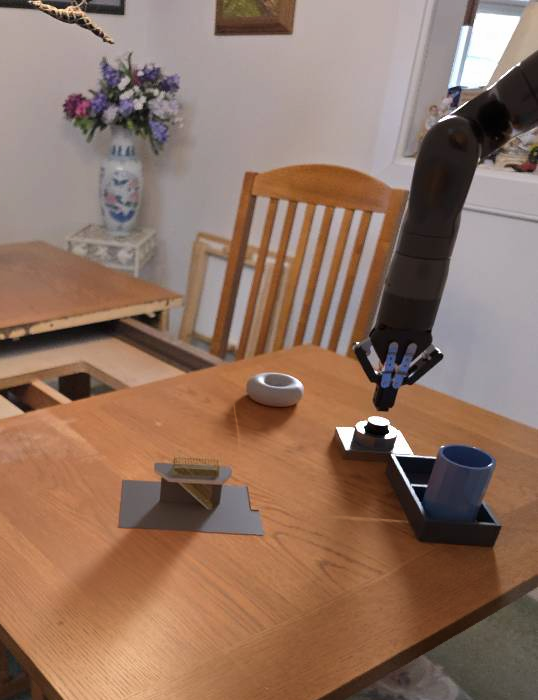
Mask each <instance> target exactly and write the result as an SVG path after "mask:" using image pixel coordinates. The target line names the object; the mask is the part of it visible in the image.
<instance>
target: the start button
mask: <svg viewBox="0 0 538 700" xmlns="http://www.w3.org/2000/svg"><path fill="white" fill-rule="evenodd" d="M366 421H367V424H366V428H365V431H367V432H368V433H371V434H375V435H386V434H387V431H388V428H389V425H390V423H391V422H390V421H389V420H388V419H387V418H384V417H380V416H369V417H368V418H367V420H366Z"/></svg>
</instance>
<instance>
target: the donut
mask: <svg viewBox="0 0 538 700" xmlns="http://www.w3.org/2000/svg"><path fill="white" fill-rule="evenodd" d="M245 387H246V389H245V390H246V394H247V396H248V397H249V398H250V399H251V400H253V401H254V402H255V403H258V404H260V405H264V406H268V407H274V408H275V407H276V408H283V407H284V408H285V407H292V406H294V405H296V404H298V403H300V401H301V400H302V399H303V398H304V395H305V389H304V384H302V382H301V381H299V379H297V378H295V377H294V376H291V375H289V374H285V373H281V372H262V373H261V372H260V373H257V374H255V375H252V376H251V377H250V378H249V379H248V381H246V386H245Z"/></svg>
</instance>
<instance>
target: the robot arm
mask: <svg viewBox="0 0 538 700" xmlns="http://www.w3.org/2000/svg"><path fill="white" fill-rule="evenodd" d="M536 128H538V49H536V50H535V51H534V52H532V53H531V54H530V55H528V56H527V57H525V58H524V59H523V60H522V61H520V62H519V63H518V64H515V66H513V67H512V68H511V69H509V70H508V71H507V72H506V73H505V74H504V75H502V76H501V77H500V78H499V79H498V80H497V81H496V82H495V83H494V84H493V85H491V86H490V87H488V88H487V89H486V90H484V91H482V92H481V93H479V94H477V95H476V96H475V97H473V98H471V99H470V100H468V101H467V102H465V103H464V104H463V105H461V106H459V107H458V108H456V109H455V110H454V111H452V112H451V113H449V114H448V115H446V116H445V117H443V118H442V119H440V120H439V121H438V122H436V123H434V124H433V125H431V127H429V129H428V130H427V132H425V134H424V135H423V137H422V139H421V140H420V143H419V146H418V150H417V152H416V153H417V154H416V157H415V161H414V166H413V172H412V173H413V174H412V178H411V183H410V189H409V195H408V201H407V207H406V210H405V213H404V216H403V218H402V221H401V225H400V229H399V233H398V238H397V241H396V245H395V250H394V253H393V255H392V259H391V262H390V264H389V266H388V270H387V275H386V276H385V279H384V283H383V284H384V287H383V291H382V294H381V299H380V303H379V307H378V311H377V315H376V316H377V317H376V320H375V323H374V325H373V328H372V329H371V330H370V331H369V333H368V337H367V338H365V339H363V340H361V341H360V342H359V341H354V342H352V343H351V347H350V348H351V350H352V352H353V353H354V355H355V357H356V359H357V361H358V362H359V364H360V366H361V368H362V370H363V372H364V374H365V376H366V377H367V379H368V381H369V382H370V383H372V384H373V383H374V384H376V385H375V389H374V392H373V396H372V404H373V407H374V408H375V409H376V411H377V412H385V413H388V412H389V411H390V409H392V408H393V407H394V406H395V403H396V399H397V396H398V392H399V389H400V388H401V387H403V386H406V385H407V386H413V385H414V384H415V383H416V382H417V381H419V380H420V379H421V378H422V377H423V376H425V375H426V374H427V373H428V372H430V371H431V370H432V369H433V368H434V367H435V366H437V365H438V364H439V363H440V362H441V361H442V360H443V359H444V354H443V352H442V351H441V350H440V349H439V348H438V347H436V346H435V345H434V344H433V342H434V341H433V339H434V338H433V337H434V336H433V333H432V331H433V328H434V326H435V322H436V318H437V317H438V312H439V308H440V305H441V301H442V298H443V294H444V291H445V288H446V284H447V280H448V277H449V273H450V265H451V260H452V257H453V253H454V249H455V245H456V243H457V238H458V234H459V231H460V227H461V222H462V213H463V209H464V207H465V204H466V200H467V197H468V195H469V193H470V189H471V186H472V183H473V180H474V177H475V174H476V171H477V169H478V165H479V164H480V163H481V162H483V161H484V160H485V159H487V158H489V157H490V156H491V155H493V154H494V153H496V152H497V151H499V150H500V149H502V147H504V146H505V145H507V144H508V143H509V142H511V141H512V140H514V139H516V138H517V137H519V136H523V135H525V134H527V133H529V132H531V131H533V130H536ZM371 347H372V348H373V350H374V352H375V355H376V356H377V358H378V368H377V369H378V370H377V371H376V370H375V369H374V366H373V365H372V363H371V362H370V360H369V358H368V357H370V355H371V353H372V351H371ZM420 356H421V357H420ZM419 357H420V358H419ZM417 358H419V359H417ZM416 359H417V360H416ZM414 361H415V362H414ZM413 362H414V363H413ZM411 363H413V364H412V365H411Z"/></svg>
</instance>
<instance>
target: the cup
mask: <svg viewBox="0 0 538 700" xmlns="http://www.w3.org/2000/svg"><path fill="white" fill-rule="evenodd" d="M435 457H436V460H435V463H434V466H433V469H432V472H431V475H430V479H429V482H428V485H427V488H426V491H425V494H424V497H423V500H422V503H421V505H422V506H423V508H424V510H425V512H426V514H427V516H428V517H429V519H438V520H453V521H468V522H475V519H476V517H477V514H478V511H479V509H480V506H481V503H482V501H483V500H484V498H485V496H486V492H487V490H488V487H489V485H490V482H491V479H492V477H493V474H494V472H495V469H496V466H497V459H496V458H495V457H494V455H492V454H491V453H490V452H487V451H485V450H483V449H482V448H481V449H480V448H478V447H476V446H472V445H466V444H460V443H450V444H444V445H442V446H441V447H439V448H438V451H437V454H436V456H435Z"/></svg>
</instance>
